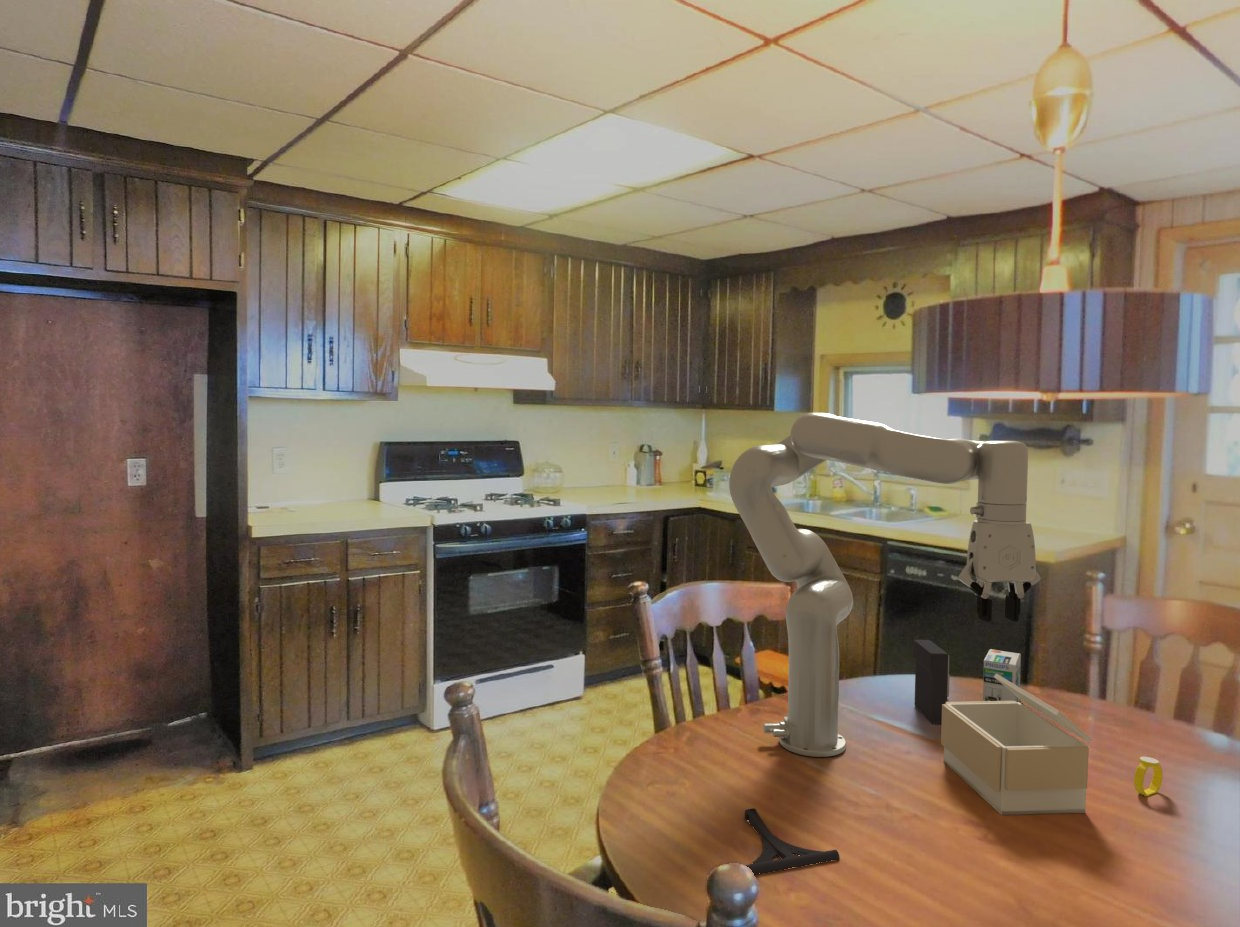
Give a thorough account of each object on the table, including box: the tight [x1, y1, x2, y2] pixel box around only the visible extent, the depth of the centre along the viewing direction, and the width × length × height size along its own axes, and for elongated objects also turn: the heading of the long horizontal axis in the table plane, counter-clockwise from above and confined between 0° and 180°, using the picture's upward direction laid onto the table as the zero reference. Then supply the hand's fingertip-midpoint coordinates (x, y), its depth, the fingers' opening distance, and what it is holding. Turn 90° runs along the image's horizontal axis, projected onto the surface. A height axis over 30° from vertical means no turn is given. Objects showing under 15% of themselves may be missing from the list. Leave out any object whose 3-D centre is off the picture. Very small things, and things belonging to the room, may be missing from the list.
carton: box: [940, 700, 1090, 816], centre depth 139 cm, size 15×22×11 cm
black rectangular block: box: [912, 639, 951, 725], centre depth 172 cm, size 11×4×15 cm, turn 179°
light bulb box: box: [982, 648, 1022, 703], centre depth 179 cm, size 11×7×11 cm, turn 149°
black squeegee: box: [743, 807, 841, 876], centre depth 120 cm, size 14×15×3 cm
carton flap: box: [994, 673, 1093, 744], centre depth 139 cm, size 7×19×1 cm
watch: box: [1133, 756, 1163, 797], centre depth 137 cm, size 6×3×6 cm, turn 118°
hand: (998, 618), depth 137 cm, fingers open, 4 cm apart
